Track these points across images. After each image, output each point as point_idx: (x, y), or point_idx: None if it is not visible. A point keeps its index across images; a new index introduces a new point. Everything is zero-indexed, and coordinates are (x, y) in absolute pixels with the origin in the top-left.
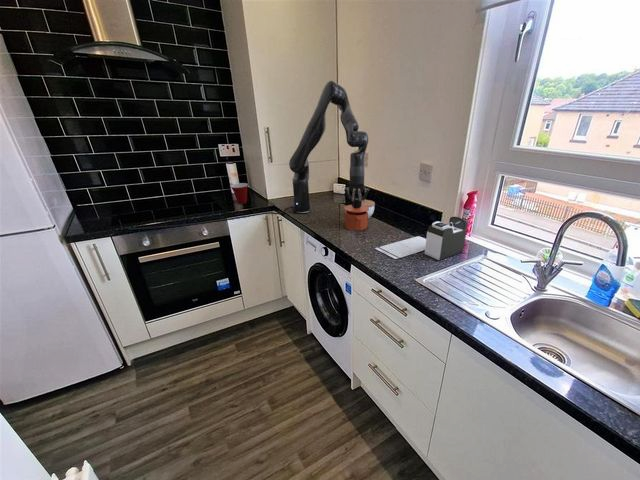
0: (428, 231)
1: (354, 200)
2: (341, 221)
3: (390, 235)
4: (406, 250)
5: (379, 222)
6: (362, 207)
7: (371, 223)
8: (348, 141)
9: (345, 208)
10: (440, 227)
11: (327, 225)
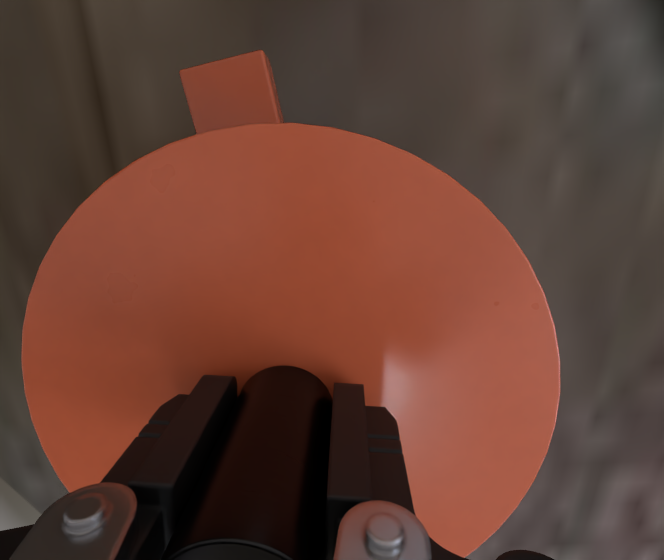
0: None
1: (171, 527)
2: (122, 90)
3: (636, 481)
4: None
5: (617, 84)
6: (415, 367)
7: (502, 137)
8: None
9: (67, 455)
10: None
11: (3, 254)
